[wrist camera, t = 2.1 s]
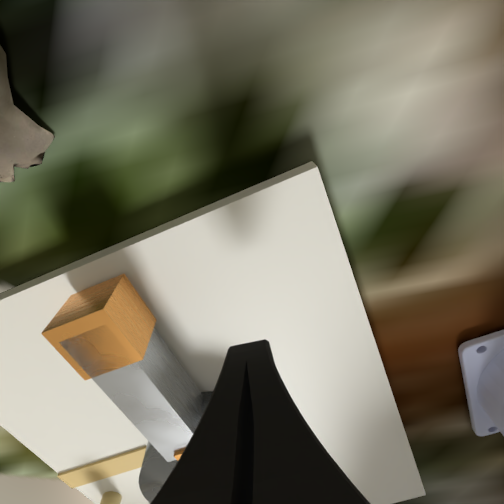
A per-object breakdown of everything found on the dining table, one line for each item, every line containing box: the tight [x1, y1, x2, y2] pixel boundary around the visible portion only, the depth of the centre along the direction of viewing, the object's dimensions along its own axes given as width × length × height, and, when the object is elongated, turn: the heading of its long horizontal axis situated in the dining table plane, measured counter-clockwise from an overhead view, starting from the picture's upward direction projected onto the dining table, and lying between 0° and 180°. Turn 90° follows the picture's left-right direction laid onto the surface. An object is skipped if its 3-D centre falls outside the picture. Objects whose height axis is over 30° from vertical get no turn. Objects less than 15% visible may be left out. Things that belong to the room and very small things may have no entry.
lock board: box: [0, 161, 426, 504], centre depth 18 cm, size 20×24×4 cm
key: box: [41, 274, 213, 503], centre depth 16 cm, size 15×7×3 cm, turn 23°
